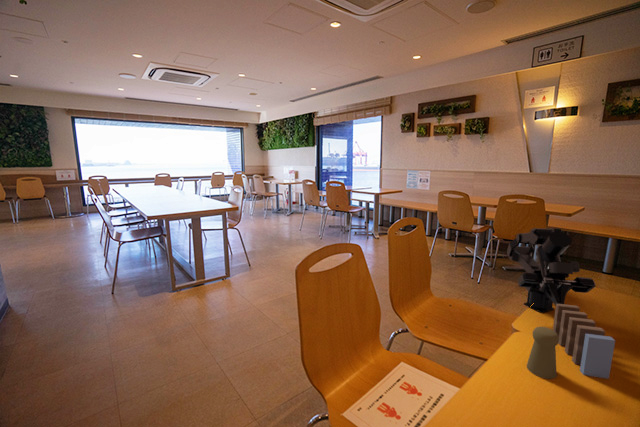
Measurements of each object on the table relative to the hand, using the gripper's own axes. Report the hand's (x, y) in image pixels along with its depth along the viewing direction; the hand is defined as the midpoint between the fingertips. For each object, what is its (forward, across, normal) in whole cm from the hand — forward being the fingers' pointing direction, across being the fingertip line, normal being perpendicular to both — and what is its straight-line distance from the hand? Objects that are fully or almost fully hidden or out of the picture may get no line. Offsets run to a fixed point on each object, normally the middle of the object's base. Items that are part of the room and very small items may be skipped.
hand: (560, 309), depth 90 cm
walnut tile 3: (+13, 0, -3) cm, 14 cm away
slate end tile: (+19, 0, -9) cm, 21 cm away
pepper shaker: (+20, -12, -10) cm, 25 cm away
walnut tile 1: (+8, 0, +2) cm, 8 cm away
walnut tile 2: (+10, 0, 0) cm, 10 cm away
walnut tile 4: (+16, 0, -6) cm, 17 cm away
